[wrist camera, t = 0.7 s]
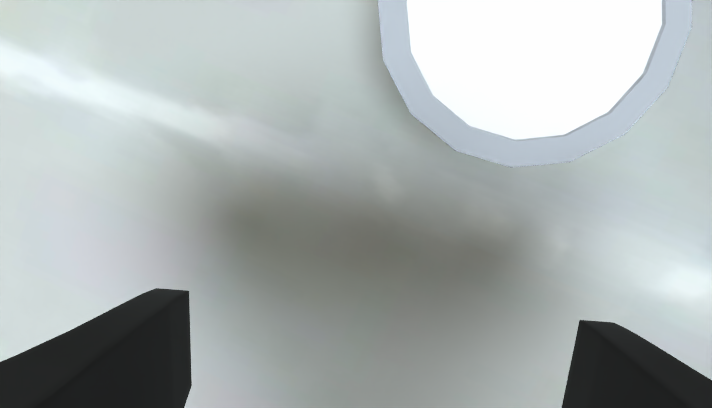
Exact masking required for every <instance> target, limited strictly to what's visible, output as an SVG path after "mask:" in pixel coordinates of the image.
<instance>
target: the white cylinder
mask: <svg viewBox="0 0 712 408" xmlns="http://www.w3.org/2000/svg"><path fill="white" fill-rule="evenodd" d="M378 10H379V20H380V31H381V42H382V53H383V61H384V63H385V65H386V67H387V69H388V71H389V73H390V75H391V77H392V79H393V81H394V82H395V84H396V86H397V88H398V90H399V92H400V94H401V96H402V98H403V100H404V102H405V104H406V106H407V107H408V109H409V111H410V113H411V114H412V115H413V116H414V117H415V118H416V119H418V120H419V121H420V122H421V123H422V124H424V125H425V126H426V127H427V128H429V129H430V130H431V131H432V132H433V133H435V134H436V135H437V136H438V137H439V138H441V139H442V140H443V141H444V142H445V143H447V144H448V145H449V146H450V147H451V148H453V149H454V150H455V151H458V152H461V153H464V154H467V155H471V156H474V157H477V158H481V159H484V160H487V161H491V162H494V163H497V164H500V165H504V166H507V167H510V168H513V167H523V166H534V165H544V164H555V163H565V162H571V161H573V160H575V159H577V158H579V157H581V156H583V155H585V154H587V153H589V152H591V151H593V150H595V149H597V148H599V147H601V146H603V145H605V144H607V143H609V142H611V141H613V140H615V139H617V138H619V137H621V136H623V135H624V134H626V133H627V132H628V130H629V129H630V128H631V127H632V126H633V125H634V124H635V123H636V122H637V121H638V119H639V118H640V117H641V116H642V115H643V114H644V113H645V112H646V111H647V110H648V109H649V107H650V106H651V105H652V104H653V103H654V102H655V101H656V100H657V99H658V98H659V97H660V95H661V94H662V93H663V92H664V91H665V90H666V89H667V88H668V86H669V83H670V81H671V78H672V76H673V73H674V71H675V68H676V66H677V63H678V61H679V58H680V56H681V53H682V51H683V48H684V46H685V43H686V41H687V38H688V36H689V33H690V31H691V28H692V0H378Z"/></svg>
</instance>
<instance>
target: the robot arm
mask: <svg viewBox="0 0 712 408" xmlns="http://www.w3.org/2000/svg"><path fill="white" fill-rule="evenodd" d="M190 389H191V351H190V314H189V291H184V290H171V289H157V288H156V289H154V290H151V291H148V292H146V293H144V294H141V295H139V296H137V297H135V298H133V299H131V300H129V301H127V302H125V303H123V304H121V305H119V306H117V307H115V308H113V309H111V310H109V311H108V312H106V313H104V314H102V315H100V316H98V317H96V318H94V319H92V320H90V321H88V322H86V323H84V324H82V325H80V326H78V327H76V328H74V329H72V330H70V331H68V332H66V333H64V334H62V335H59V336H57V337H55V338H53V339H51V340H49V341H46V342H44V343H42V344H40V345H38V346H36V347H33V348H31V349H29V350H27V351H25V352H23V353H20V354H18V355H16V356H14V357H11V358H9V359H7V360H4V361H2V362H0V408H184V406H185V403H186V400H187V397H188V394H189V391H190ZM562 408H712V380H710V379H709V378H707V377H705V376H704V375H702V374H700V373H699V372H697V371H695V370H694V369H692V368H691V367H689V366H687V365H686V364H684V363H682V362H681V361H679V360H678V359H676V358H674V357H673V356H671V355H670V354H668V353H666V352H665V351H663V350H661V349H660V348H658V347H657V346H655V345H653V344H652V343H650V342H648V341H647V340H645V339H643V338H642V337H640V336H638V335H637V334H635V333H633V332H631V331H629V330H628V329H626V328H624V327H622V326H620V325H617V324H615V323H611V322H598V321H584V320H580V321H579V326H578V331H577V336H576V341H575V346H574V351H573V356H572V361H571V365H570V370H569V375H568V380H567V385H566V390H565V395H564V400H563V405H562Z"/></svg>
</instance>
